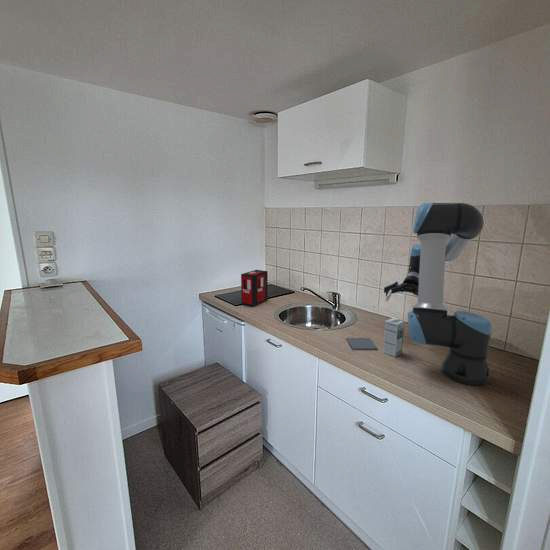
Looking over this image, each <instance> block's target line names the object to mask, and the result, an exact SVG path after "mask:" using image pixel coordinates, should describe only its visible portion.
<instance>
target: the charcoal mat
mask: <svg viewBox="0 0 550 550" xmlns="http://www.w3.org/2000/svg"><path fill="white" fill-rule="evenodd" d="M345 340H346V342H347V343H348V345H349V347H350V349H351V350H352V351H378V347H377V346H376V344H375V343H374V341H373V340H372V339H371V338H370V337H346V338H345Z"/></svg>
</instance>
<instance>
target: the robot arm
mask: <svg viewBox="0 0 550 550" xmlns="http://www.w3.org/2000/svg"><path fill="white" fill-rule="evenodd" d="M484 224H485V222H484V217H483V215H482V212H480V210H479V209H478V208H476V207H475V206H474V205H472V204H469V203H466V202H465V203H464V202H455V203H454V202H429V203H428V202H427V203H426V202H425V203H422V204H420V205H419V206H418V208H417V212H416V213H415V218H414V222H413V228H412V229H413V230H412V233H413V234H416V238H417V240H418V241H419V242H420V243H418V244H414V245H412V246H411V250H410V254H409V255H410V257H409V264H408V270H407V274H406V276H405V277H404V279H403V281H402V283H399V282H398V281H395V282H394V283H391V284H389V285H386V286H385V287H384V289H383V293H385V298H386V299H385V302H389V299H391V296H392V294H397V293H403V292H404V293H412V294H413V295H414V296H416V297H417V303H416V304H415V305H413V306H412V310H411V311H410V310H409V312H408V313H407V327H408V332H409V333H408V334H409V338H410V340H411V341H412V342H413V343H416V344H422V345H427V346H429V345H430V346H435V347H436V346H437V347H443V348H444V347H446V348H449V351H448V353H447V355H446V357H445V358H444V360H443V361H442V364H441V372H442V374H444V375H445V376H446V377H447V378H449V379H451V380H453V381H455V382H458V383H460V384H463V385H469V386H475V387H476V386H479V387H480V386H485V385H487V384H489V382H490V379H491V378H490V377H491V376H490V370H489V365H488V361H487V358H488V353H489V346H490V340H491V336H492V323H491V321H490V320H489V319H488V318H486V317H484V316H483V315H479V314H477V313H473V312H470V311H465V310H457V311H455V312H454V313H453V315H449V314H448V309H447V307H445V306H444V292H445V291H444V289H445V286H444V285H445V271H446V270H445V269H446V266H445V261H451V260H454V259H455V258H457V257H458V256H459V255H460V253H461V254H462V253H463V251H464V249H465V248H466V247H467V245H469V243H470V242H471V240H473V239H474V238H477V237H478V236H479V235H480V234H481V232H482V230H483V228H484ZM410 267H411V268H410Z"/></svg>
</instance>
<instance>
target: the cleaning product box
mask: <svg viewBox="0 0 550 550" xmlns="http://www.w3.org/2000/svg"><path fill="white" fill-rule="evenodd" d="M240 283H241V284H240V286H241V288H240V289H241V306H246V307H250V308H254V307H257V306H259V305H261V304H263V303H265V302H268V300H269V299H268V298H269V297H268V296H269V295H268V292H269V291H268V288H269V287H268V270H263V269H262V270H261V269H255V270H254V269H253V270H251V271H248V272H247V271H246V272H243V273H241V274H240Z"/></svg>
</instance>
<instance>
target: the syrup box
mask: <svg viewBox="0 0 550 550" xmlns="http://www.w3.org/2000/svg"><path fill="white" fill-rule="evenodd" d="M404 332H405V321H404V320H402V319H399V318H395V317H392V318H389V319H387V320H385V321H384V334H383V348H382V349H383V350H382V352H383V353H385V354H386V355H387V354H388V355H390V356H392V357H394V358H395V357H397V356H399V355H400V354H402V353H403V347H404V346H403V343H404V335H405V334H404Z"/></svg>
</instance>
